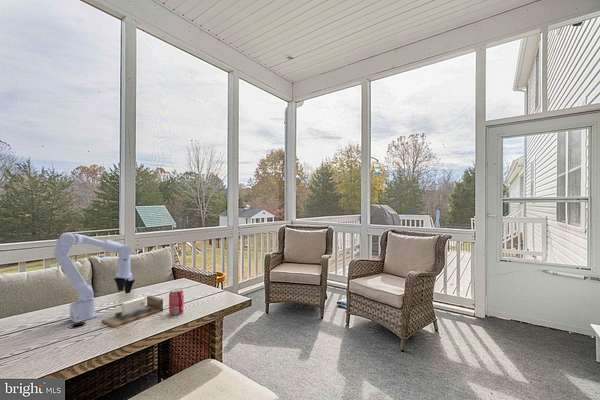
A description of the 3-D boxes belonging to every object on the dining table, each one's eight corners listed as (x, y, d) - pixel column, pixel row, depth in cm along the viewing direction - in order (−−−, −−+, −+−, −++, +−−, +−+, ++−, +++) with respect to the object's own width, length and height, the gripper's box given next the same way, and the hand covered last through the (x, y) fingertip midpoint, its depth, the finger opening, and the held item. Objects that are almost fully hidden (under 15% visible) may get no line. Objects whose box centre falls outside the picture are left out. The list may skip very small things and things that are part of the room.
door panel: (125, 318, 137) (125, 304, 137) (121, 316, 139) (121, 302, 139) (146, 311, 145) (146, 298, 145) (142, 310, 147) (142, 297, 147)
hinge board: (113, 327, 129) (113, 314, 129) (101, 321, 135) (101, 309, 135) (162, 310, 149) (162, 299, 149) (150, 306, 155) (150, 295, 155)
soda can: (180, 309, 151) (180, 287, 151) (185, 313, 146) (185, 290, 146) (167, 313, 146) (167, 290, 146) (172, 316, 141) (172, 293, 141)
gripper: (138, 267, 151) (138, 292, 151) (125, 263, 159) (125, 287, 159) (125, 269, 145) (125, 295, 145) (111, 266, 153) (111, 291, 153)
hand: (124, 291), depth 151 cm, fingers open, 7 cm apart
